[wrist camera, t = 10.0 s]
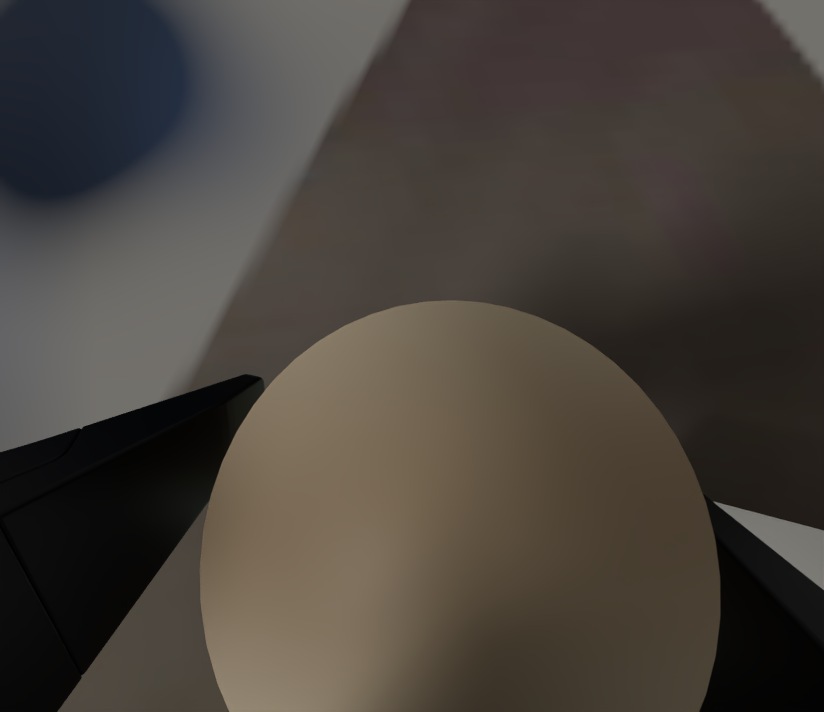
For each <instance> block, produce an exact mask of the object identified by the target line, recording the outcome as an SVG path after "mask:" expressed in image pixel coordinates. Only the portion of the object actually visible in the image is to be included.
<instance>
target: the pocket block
mask: <svg viewBox="0 0 824 712" xmlns="http://www.w3.org/2000/svg"><path fill="white" fill-rule="evenodd" d="M714 503H715V504H716V505H718V506H719V507H720V508H721V509H723V510H724V511H725V512H726V513H728V514H729V515H730V516H732V517H733V518H734V519H735V520H737V521H738V522H739V523H740V524H742V525H743V526H744V527H745V528H747V529H748V530H749V531H750V532H752V533H753V534H754V535H755V536H757V537H758V538H759V539H760V540H762V541H763V542H764V543H765V544H767V545H768V546H769V547H770V548H772V549H773V550H774V551H775V552H777V553H778V554H779V555H780V556H782V557H783V558H784V559H785V560H787V561H788V562H789V563H790V564H792V565H793V566H794V567H795V568H797V569H798V570H799V571H800V572H802V573H803V574H804V575H805V576H807V577H808V578H809V579H811V580H812V581H813V582H814V583H816V584H817V585H818V586H819V587H821V588H822V589H823V590H824V530H820V529H816V528H812V527H808V526H805V525H801V524H797V523H793V522H789V521H786V520H782V519H778V518H774V517H770V516H767V515H763V514H759V513H755V512H751V511H748V510H744V509H740V508H736V507H732V506H729V505H725V504H721V503H717V502H714Z"/></svg>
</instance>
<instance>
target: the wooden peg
mask: <svg viewBox="0 0 824 712" xmlns="http://www.w3.org/2000/svg"><path fill="white" fill-rule="evenodd" d="M200 593H201V610H202V617H203V623H204V630H205V637H206V644H207V648H208V651H209V655H210V658H211V662H212V666H213V669H214V673H215V677H216V680H217V683H218V686H219V688H220V691H221V693H222V695H223V698H224V700H225V703H226V705H227V707H228V710H229V712H699V711H700V708H701V706H702V703H703V701H704V698H705V696H706V693H707V689H708V685H709V681H710V677H711V673H712V669H713V665H714V661H715V657H716V650H717V641H718V632H719V624H720V572H719V565H718V557H717V549H716V541H715V536H714V532H713V528H712V524H711V520H710V516H709V512H708V508H707V504H706V501H705V499H704V496H703V493H702V491H701V488H700V485H699V483H698V480H697V477H696V475H695V472H694V470H693V468H692V466H691V464H690V462H689V460H688V458H687V456H686V454H685V452H684V450H683V448H682V446H681V444H680V442H679V440H678V438H677V437H676V435H675V434H674V432H673V431H672V429H671V428H670V426H669V425H668V423H667V422H666V420H665V419H664V417H663V416H662V414H661V413H660V411H659V410H658V408H657V407H656V406H655V405H654V404H653V402H652V401H651V400H650V399H649V398H648V396H647V395H646V394H645V393H644V392H643V390H642V389H641V388H640V387H639V386H638V385H637V384H636V383H635V382H634V381H633V380H632V379H631V378H630V377H629V376H628V375H627V374H626V373H625V372H624V371H623V370H622V369H621V368H620V367H619V366H618V365H617V364H615V363H614V362H613V361H612V360H610V359H609V358H608V357H606V356H605V355H604V354H603V353H601V352H600V351H599V350H597V349H596V348H595V347H593V346H592V345H591V344H589V343H588V342H586V341H584V340H582V339H581V338H579V337H577V336H576V335H574V334H572V333H571V332H569V331H567V330H566V329H564V328H562V327H560V326H557V325H555V324H553V323H551V322H548V321H546V320H544V319H542V318H539V317H537V316H534V315H531V314H528V313H525V312H522V311H518V310H515V309H512V308H509V307H503V306H498V305H493V304H488V303H482V302H470V301H455V300H450V301H430V302H421V303H415V304H409V305H403V306H398V307H394V308H391V309H387V310H384V311H381V312H377V313H374V314H371V315H368V316H366V317H364V318H361V319H359V320H357V321H355V322H352V323H350V324H348V325H345V326H343V327H342V328H340V329H338V330H337V331H335V332H333V333H332V334H330V335H328V336H326V337H325V338H323V339H321V340H320V341H318V342H317V343H316V344H314V345H313V346H312V347H310V348H309V349H308V350H306V351H305V352H304V353H302V354H301V355H300V356H299V357H297V358H296V359H295V360H294V361H293V362H292V363H291V364H290V365H289V366H288V367H287V368H286V369H285V370H284V371H282V372H281V373H280V374H279V375H278V376H277V377H276V378H275V379H274V380H273V381H272V383H271V384H270V385H269V386H268V388H267V389H266V390H265V391H264V393H263V394H262V395H261V396H260V398H259V399H258V400H257V401H256V403H255V404H254V405H253V407H252V408H251V410H250V411H249V413H248V415H247V416H246V418H245V419H244V421H243V423H242V424H241V426H240V427H239V429H238V430H237V432H236V434H235V436H234V438H233V440H232V443H231V445H230V447H229V449H228V451H227V453H226V455H225V457H224V459H223V461H222V464H221V467H220V470H219V473H218V476H217V479H216V482H215V484H214V487H213V490H212V493H211V497H210V502H209V506H208V511H207V515H206V520H205V525H204V529H203V539H202V550H201V560H200Z"/></svg>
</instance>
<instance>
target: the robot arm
mask: <svg viewBox="0 0 824 712" xmlns="http://www.w3.org/2000/svg"><path fill="white" fill-rule="evenodd" d="M264 391H265V390H264V381H263V379H262V378H261V377H258V376H253V375H249V374H244V375H241V376H238V377H235V378H232V379H228V380H225V381H222V382H219V383H216V384H213V385H210V386H207V387H204V388H201V389H198V390H195V391H192V392H189V393H185V394H182V395H179V396H176V397H173V398H170V399H167V400H164V401H161V402H158V403H155V404H152V405H149V406H146V407H142V408H140V409H136V410H133V411H130V412H127V413H124V414H121V415H118V416H115V417H112V418H109V419H105V420H102V421H99V422H96V423H93V424H90V425H87V426H84V427H83V428H82V429H80V428H78V429H74V430H71V431H68V432H65V433H62V434H59V435H56V436H53V437H50V438H47V439H44V440H40V441H37V442H34V443H31V444H27V445H24V446H21V447H17V448H14V449H10V450H7V451H3V452H0V712H57V711H58V710H59V709H60V707H61V706H62V705H63V703H64V702H65V700H66V699H67V698H68V696H69V695H70V693H71V692H72V691H73V689H74V688H75V686H76V685H77V684H78V682H79V681H80V680H81V678H82V676H81V675H83V674H84V673H85V672H86V671H87V669H88V668H89V667H90V665H91V664H92V662H93V661H94V660H95V658H96V657H97V655H98V654H99V653H100V651H101V650H102V648H103V647H104V646H105V644H106V643H107V642H108V640H109V639H110V637H111V636H112V635H113V633H114V632H115V630H116V629H117V628H118V626H119V625H120V624H121V622H122V621H123V619H124V618H125V617H126V615H127V614H128V612H129V611H130V610H131V608H132V607H133V606H134V604H135V603H136V601H137V600H138V599H139V597H140V596H141V594H142V593H143V592H144V590H145V589H146V587H147V586H148V585H149V583H150V582H151V581H152V579H153V578H154V576H155V575H156V574H157V572H158V571H159V569H160V568H161V567H162V565H163V564H164V563H165V561H166V560H167V558H168V557H169V556H170V554H171V553H172V551H173V550H174V549H175V547H176V546H177V544H178V543H179V542H180V540H181V539H182V538H183V536H184V535H185V533H186V532H187V531H188V529H189V528H190V526H191V525H192V524H193V522H194V521H195V520H196V518H197V517H198V515H199V514H200V513H201V511H202V510H203V508H204V507H205V506H206V504H207V503H208V502H209V500H210V497H211V493H212V490H213V487H214V484H215V482H216V479H217V476H218V473H219V470H220V467H221V464H222V461H223V459H224V457H225V455H226V453H227V451H228V449H229V447H230V445H231V443H232V440H233V438H234V436H235V434H236V432H237V430H238V429H239V427H240V426H241V424H242V423H243V421H244V419H245V418H246V416H247V415H248V413H249V411H250V410H251V408H252V407H253V405H254V404H255V403H256V401H257V400H258V399H259V398H260V396H261V395H262V394H263V393H264ZM703 496H704V499H705V501H706V504H707V508H708V512H709V516H710V520H711V524H712V528H713V532H714V536H715V541H716V549H717V557H718V565H719V572H720V624H719V632H718V641H717V650H716V657H715V661H714V665H713V669H712V673H711V677H710V681H709V685H708V689H707V693H706V696H705V698H704V701H703V703H702V706H701V708H700V711H699V712H824V590H823V589H822V588H821V587H819V586H818V585H817V584H816V583H814V582H813V581H812V580H811V579H809V578H808V577H807V576H805V575H804V574H803V573H802V572H800V571H799V570H798V569H797V568H795V567H794V566H793V565H792V564H790V563H789V562H788V561H787V560H785V559H784V558H783V557H782V556H780V555H779V554H778V553H777V552H775V551H774V550H773V549H772V548H770V547H769V546H768V545H767V544H765V543H764V542H763V541H762V540H760V539H759V538H758V537H757V536H755V535H754V534H753V533H752V532H750V531H749V530H748V529H747V528H745V527H744V526H743V525H742V524H740V523H739V522H738V521H737V520H735V519H734V518H733V517H732V516H730V515H729V514H728V513H726V512H725V511H724V510H723V509H721V508H720V507H719V506H718V505H716V504H715V503H714V502H713V501H711V500H710V499H709V498H708V497H706V496H705V495H704V494H703Z"/></svg>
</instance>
